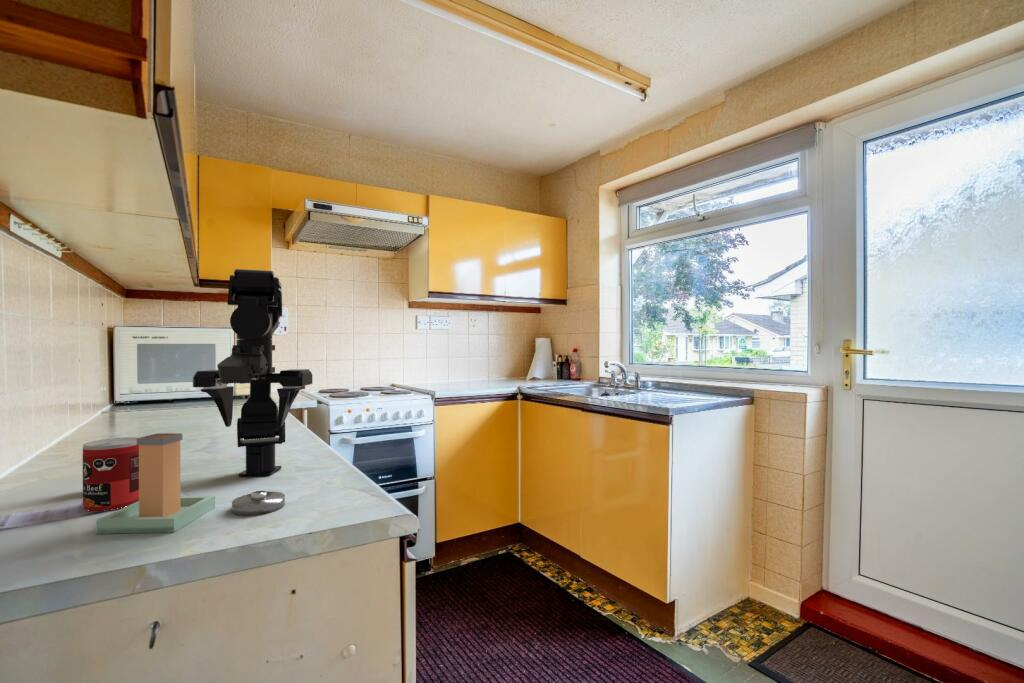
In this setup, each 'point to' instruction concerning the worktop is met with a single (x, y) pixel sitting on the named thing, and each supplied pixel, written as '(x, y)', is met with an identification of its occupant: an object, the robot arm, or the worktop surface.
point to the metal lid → (258, 503)
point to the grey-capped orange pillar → (159, 474)
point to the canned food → (110, 473)
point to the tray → (132, 523)
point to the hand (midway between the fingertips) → (254, 426)
